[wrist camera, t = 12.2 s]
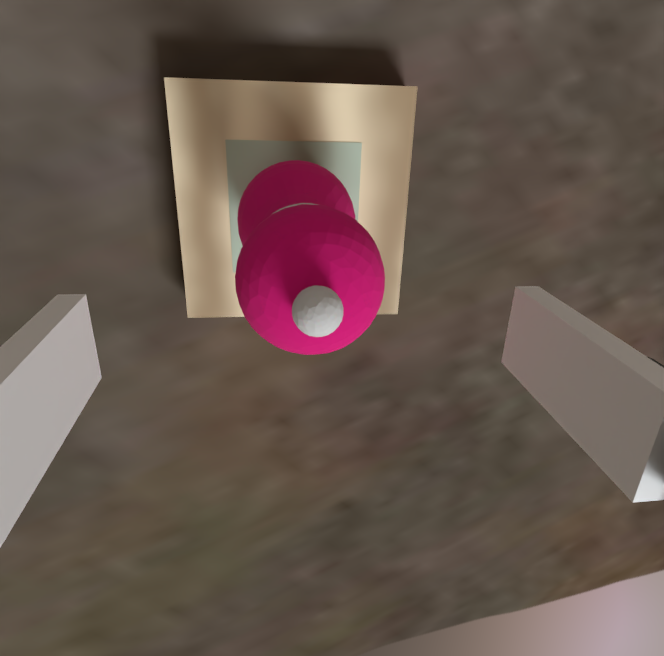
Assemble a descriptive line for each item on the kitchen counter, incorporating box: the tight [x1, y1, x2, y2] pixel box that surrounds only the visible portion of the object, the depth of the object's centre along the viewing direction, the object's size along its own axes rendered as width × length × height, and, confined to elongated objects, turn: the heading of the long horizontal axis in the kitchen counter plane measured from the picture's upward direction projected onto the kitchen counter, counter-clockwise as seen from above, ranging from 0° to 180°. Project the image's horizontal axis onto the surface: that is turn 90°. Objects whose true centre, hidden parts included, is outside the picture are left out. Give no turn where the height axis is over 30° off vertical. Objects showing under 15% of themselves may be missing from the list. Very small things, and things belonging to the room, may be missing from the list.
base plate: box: [164, 77, 417, 318], centre depth 36 cm, size 16×16×3 cm
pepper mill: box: [235, 160, 385, 355], centre depth 25 cm, size 7×7×20 cm
